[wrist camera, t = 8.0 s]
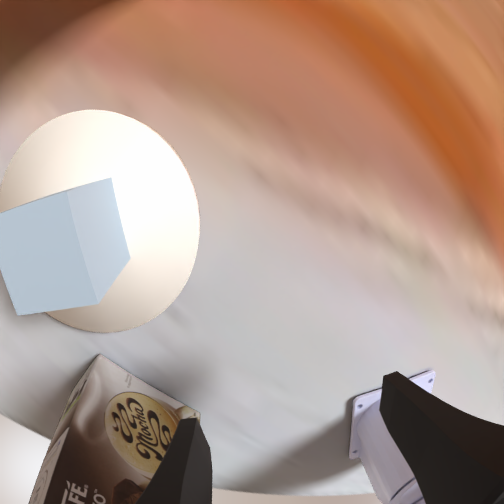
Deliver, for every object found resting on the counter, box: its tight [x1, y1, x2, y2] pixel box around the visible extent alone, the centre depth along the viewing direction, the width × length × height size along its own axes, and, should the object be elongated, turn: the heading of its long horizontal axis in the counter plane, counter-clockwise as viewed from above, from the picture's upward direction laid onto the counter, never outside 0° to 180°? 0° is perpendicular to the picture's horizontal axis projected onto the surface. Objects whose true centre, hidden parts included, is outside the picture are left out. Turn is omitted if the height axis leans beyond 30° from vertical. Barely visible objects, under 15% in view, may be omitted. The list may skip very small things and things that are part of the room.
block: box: [0, 177, 131, 316], centre depth 13 cm, size 4×4×6 cm
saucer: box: [0, 110, 200, 333], centre depth 16 cm, size 13×13×1 cm
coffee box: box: [29, 354, 200, 504], centre depth 14 cm, size 9×6×16 cm
